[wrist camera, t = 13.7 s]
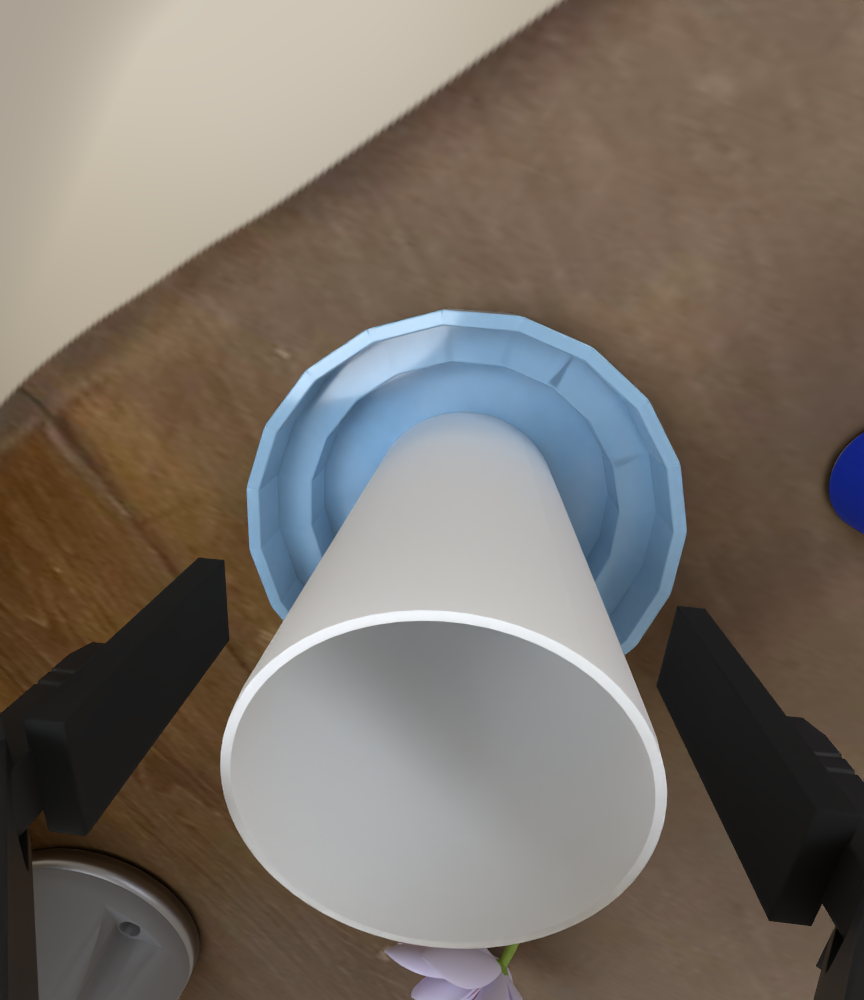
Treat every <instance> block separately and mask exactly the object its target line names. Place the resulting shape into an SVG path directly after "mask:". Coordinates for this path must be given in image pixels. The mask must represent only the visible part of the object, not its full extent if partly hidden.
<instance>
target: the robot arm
mask: <svg viewBox="0 0 864 1000" xmlns="http://www.w3.org/2000/svg"><path fill="white" fill-rule="evenodd" d="M228 641H229V628H228V613H227V597H226V581H225V566H224V560H217V559H207V558H198V559H197V560H196V561H195V562H193V563H192V564H191V565H190V566H189V567H188V568H187V569H186V570H185V571H184V572H183V573H181V574H180V575H179V576H178V577H177V578H176V579H175V580H174V581H173V582H172V583H171V584H170V585H168V586H167V587H166V588H165V589H164V590H163V591H162V592H161V593H160V594H159V595H158V596H156V597H155V598H154V599H153V600H152V601H151V602H150V603H149V604H148V605H147V606H146V607H145V608H143V609H142V610H141V611H140V612H139V613H138V614H137V615H136V616H135V617H134V618H133V619H131V620H130V621H129V622H128V623H127V624H126V625H125V626H124V627H123V628H122V629H121V630H119V631H118V632H117V633H116V634H115V635H114V636H113V637H112V638H111V639H110V640H109V641H108V642H106V643H96V642H92V643H90V644H88V645H86V646H84V647H82V648H80V649H79V650H77V651H75V652H73V653H71V654H69V655H68V656H67V657H66V658H65V659H63V660H62V661H61V662H60V663H59V664H58V665H56V666H55V667H54V668H53V669H52V672H48V673H47V674H46V675H45V676H44V677H43V678H41V679H40V680H39V681H38V684H34V685H33V686H32V687H31V688H30V689H29V690H27V691H26V692H25V693H24V694H23V695H22V696H21V697H19V698H18V699H17V700H16V701H15V702H14V703H12V704H11V705H10V706H9V707H8V708H7V709H6V710H4V711H3V712H2V713H1V714H0V1000H178V999H179V997H180V995H181V994H182V992H183V990H184V988H185V987H186V985H187V983H188V981H189V978H190V976H191V974H192V971H193V969H194V967H195V964H196V962H197V960H198V956H199V951H200V940H199V935H198V931H197V928H196V925H195V923H194V921H193V919H192V917H191V916H190V914H189V912H188V911H187V909H186V908H185V907H184V905H183V904H182V903H181V902H180V901H179V899H178V898H177V897H176V896H175V895H174V894H173V893H172V892H171V891H170V890H168V889H167V888H166V887H165V886H164V885H162V884H161V883H160V882H158V881H157V880H156V879H154V878H153V877H151V876H150V875H148V874H146V873H145V872H143V871H141V870H139V869H138V868H136V867H134V866H132V865H130V864H127V863H125V862H123V861H120V860H118V859H115V858H112V857H109V856H106V855H102V854H99V853H95V852H90V851H85V850H78V849H66V848H54V849H43V850H37V851H33V852H32V849H31V837H30V833H29V829H28V827H29V826H30V824H31V823H32V822H33V821H34V820H35V819H36V817H37V816H38V815H39V814H40V813H41V812H42V810H43V809H44V813H45V818H46V822H47V826H48V831H51V832H59V833H67V834H76V835H84V836H87V834H88V833H89V831H90V830H91V829H92V827H93V826H94V825H95V823H96V822H97V820H98V819H99V818H100V816H101V815H102V814H103V812H104V811H105V810H106V808H107V807H108V805H109V804H110V803H111V801H112V800H113V799H114V797H115V796H116V794H117V793H118V792H119V790H120V789H121V788H122V786H123V785H124V783H125V782H126V781H127V779H128V778H129V777H130V775H131V774H132V773H133V771H134V770H135V768H136V767H137V766H138V764H139V763H140V762H141V760H142V759H143V757H144V756H145V755H146V753H147V752H148V751H149V749H150V748H151V746H152V745H153V744H154V742H155V741H156V740H157V738H158V737H159V735H160V734H161V733H162V731H163V730H164V729H165V727H166V726H167V725H168V723H169V722H170V720H171V719H172V718H173V716H174V715H175V714H176V712H177V711H178V709H179V708H180V707H181V705H182V704H183V703H184V701H185V700H186V698H187V697H188V696H189V694H190V693H191V692H192V690H193V689H194V688H195V686H196V685H197V683H198V682H199V681H200V679H201V678H202V677H203V675H204V674H205V672H206V671H207V670H208V668H209V667H210V666H211V664H212V663H213V661H214V660H215V659H216V657H217V656H218V655H219V653H220V652H221V651H222V649H223V648H224V646H225V645H226V644H227V642H228ZM656 686H657V688H658V690H659V692H660V694H661V696H662V698H663V701H664V703H665V705H666V707H667V709H668V711H669V713H670V715H671V717H672V719H673V721H674V723H675V726H676V728H677V730H678V732H679V734H680V736H681V738H682V740H683V742H684V744H685V746H686V748H687V751H688V753H689V755H690V757H691V759H692V761H693V763H694V765H695V767H696V769H697V771H698V773H699V776H700V778H701V780H702V782H703V784H704V786H705V788H706V790H707V792H708V794H709V796H710V799H711V801H712V803H713V805H714V807H715V809H716V811H717V813H718V815H719V817H720V819H721V821H722V824H723V826H724V828H725V830H726V832H727V834H728V836H729V838H730V840H731V842H732V844H733V846H734V849H735V851H736V853H737V855H738V857H739V859H740V861H741V863H742V865H743V867H744V869H745V871H746V874H747V876H748V878H749V880H750V882H751V884H752V886H753V888H754V890H755V892H756V894H757V897H758V899H759V901H760V903H761V905H762V907H763V909H764V911H765V913H766V915H767V917H768V919H769V921H775V922H783V923H791V924H799V925H807V926H812V924H813V921H814V919H815V917H816V915H817V913H818V911H819V909H820V907H821V904H823V905H824V907H825V909H826V910H827V912H828V914H829V916H830V917H831V919H832V921H833V923H834V924H835V928H834V930H833V932H832V934H831V936H830V938H829V940H828V942H827V944H826V946H825V948H824V950H823V952H822V955H821V957H820V959H819V961H818V963H817V965H816V966H817V967H818V968H820V969H821V973H820V977H819V981H818V985H817V989H816V992H815V996H814V1000H864V782H863V781H862V780H861V779H860V777H859V776H858V775H855V774H854V770H853V769H852V768H851V766H850V765H849V764H848V763H847V761H846V760H845V759H842V758H841V754H840V753H839V752H838V750H837V749H836V748H835V747H834V745H833V744H832V743H831V742H830V741H829V739H828V738H827V737H826V736H825V735H824V734H823V733H821V732H820V731H819V730H818V729H816V728H815V727H814V726H812V725H811V724H810V723H809V722H807V721H806V720H805V719H803V718H800V717H790V716H786V715H785V714H784V712H783V711H782V710H781V708H780V707H779V706H778V704H777V703H776V702H775V700H774V699H773V698H772V696H771V695H770V694H769V692H768V691H767V690H766V689H765V687H764V686H763V685H762V683H761V682H760V681H759V679H758V678H757V677H756V675H755V674H754V673H753V671H752V670H751V669H750V667H749V666H748V665H747V664H746V662H745V661H744V660H743V658H742V657H741V656H740V654H739V653H738V652H737V650H736V649H735V648H734V646H733V645H732V644H731V643H730V641H729V640H728V639H727V637H726V636H725V635H724V633H723V632H722V631H721V629H720V628H719V627H718V625H717V624H716V623H715V621H714V620H713V619H712V618H711V616H710V615H709V614H708V612H707V611H706V610H705V609H702V608H692V607H682V606H677V609H676V613H675V617H674V621H673V625H672V628H671V632H670V636H669V640H668V644H667V647H666V651H665V655H664V659H663V663H662V666H661V670H660V674H659V678H658V682H657V685H656Z"/></svg>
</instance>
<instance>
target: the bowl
mask: <svg viewBox="0 0 864 1000" xmlns="http://www.w3.org/2000/svg"><path fill="white" fill-rule="evenodd" d="M454 412H473V413H480V414H485V415H489V416H492V417H496V418H498V419H500V420H503V421H505V422H507V423H509V424H511V425H512V426H514V427H515V428H517V429H518V430H520V431H521V432H522V433H524V434H525V435H526V436H527V437H528V438H529V439H530V440H531V441H532V442H533V443H534V444H535V445H536V447H537V448H538V449H539V451H540V452H541V454H542V455H543V457H544V459H545V461H546V463H547V465H548V467H549V470H550V472H551V475H552V477H553V480H554V482H555V484H556V487H557V489H558V492H559V494H560V497H561V499H562V502H563V504H564V507H565V509H566V512H567V514H568V517H569V519H570V522H571V524H572V527H573V529H574V532H575V534H576V537H577V539H578V542H579V544H580V547H581V549H582V552H583V554H584V556H585V559H586V561H587V564H588V566H589V569H590V571H591V574H592V576H593V579H594V581H595V584H596V586H597V589H598V591H599V594H600V596H601V599H602V601H603V604H604V606H605V609H606V611H607V614H608V616H609V619H610V621H611V624H612V626H613V628H614V631H615V633H616V636H617V638H618V641H619V643H620V646H621V648H622V651H623V653H624V655H626V654H627V653H628V652H629V651H631V650H632V649H633V648H634V647H635V646H636V645H637V644H638V643H639V641H640V640H641V638H642V636H643V635H644V633H645V632H646V630H647V629H648V627H649V626H650V624H651V623H652V621H653V620H654V618H655V617H656V615H657V614H658V612H659V611H660V609H661V608H662V606H663V605H664V603H665V602H666V600H667V599H668V597H669V596H670V593H671V591H672V587H673V584H674V580H675V576H676V572H677V568H678V564H679V561H680V557H681V553H682V549H683V545H684V541H685V538H686V534H687V524H686V514H685V504H684V494H683V483H682V473H681V465H680V462H679V460H678V458H677V456H676V454H675V452H674V449H673V447H672V445H671V443H670V441H669V439H668V437H667V435H666V433H665V431H664V429H663V427H662V425H661V423H660V421H659V419H658V417H657V415H656V413H655V411H654V409H653V407H652V405H651V403H650V401H649V400H648V398H647V397H646V396H645V395H643V394H642V393H641V392H640V391H639V390H638V389H637V388H636V387H635V386H634V385H633V384H632V383H631V382H630V381H629V380H628V379H627V378H625V377H624V376H623V375H622V374H621V373H620V372H619V371H618V370H617V369H616V368H615V367H614V366H613V365H612V364H611V363H610V362H609V361H608V360H606V359H605V358H604V357H603V356H602V355H601V354H600V353H599V352H598V351H597V350H596V349H594V348H593V347H591V346H589V345H587V344H585V343H582V342H580V341H578V340H575V339H573V338H571V337H569V336H566V335H564V334H562V333H560V332H557V331H555V330H553V329H550V328H548V327H546V326H544V325H541V324H539V323H537V322H535V321H532V320H530V319H528V318H525V317H523V316H521V315H518V314H514V313H510V312H497V311H485V310H472V309H460V308H446V309H442V310H438V311H434V312H430V313H426V314H422V315H419V316H415V317H411V318H407V319H403V320H399V321H395V322H391V323H388V324H384V325H380V326H376V327H372V328H368V329H367V330H364V331H363V332H361V333H360V334H358V335H357V336H355V337H354V338H352V339H351V340H349V341H348V342H346V343H345V344H344V345H342V346H341V347H339V348H338V349H336V350H335V351H333V352H332V353H330V354H329V355H327V356H326V357H324V358H323V359H321V360H320V361H318V362H317V363H315V364H314V365H312V366H311V367H309V368H308V369H307V370H306V371H305V372H304V373H303V374H302V376H301V377H300V378H299V380H298V381H297V382H296V384H295V385H294V386H293V388H292V389H291V391H290V392H289V393H288V395H287V396H286V397H285V399H284V400H283V401H282V403H281V404H280V405H279V407H278V408H277V409H276V411H275V412H274V414H273V415H272V416H271V418H270V419H269V420H268V422H267V423H266V425H265V427H264V430H263V433H262V437H261V440H260V443H259V447H258V450H257V453H256V457H255V460H254V464H253V467H252V470H251V474H250V477H249V480H248V484H247V509H248V529H249V548H250V552H251V555H252V558H253V560H254V563H255V565H256V568H257V570H258V573H259V576H260V578H261V581H262V583H263V586H264V588H265V591H266V594H267V596H268V599H269V601H270V604H271V605H272V607H273V609H274V610H275V611H276V613H277V614H278V615H279V616H280V618H281V619H282V620H283V621H284V619H285V617H286V616H287V614H288V613H289V611H290V609H291V608H292V606H293V604H294V603H295V601H296V600H297V598H298V596H299V595H300V593H301V591H302V590H303V588H304V587H305V585H306V583H307V582H308V580H309V578H310V577H311V575H312V574H313V572H314V570H315V569H316V567H317V565H318V564H319V562H320V561H321V559H322V557H323V556H324V554H325V552H326V551H327V549H328V548H329V546H330V544H331V543H332V541H333V539H334V538H335V536H336V535H337V533H338V531H339V530H340V528H341V526H342V525H343V523H344V522H345V520H346V518H347V517H348V515H349V513H350V512H351V510H352V509H353V507H354V505H355V504H356V502H357V500H358V499H359V497H360V496H361V494H362V492H363V491H364V489H365V487H366V486H367V484H368V483H369V481H370V479H371V478H372V476H373V474H374V473H375V471H376V470H377V468H378V466H379V465H380V463H381V461H382V460H383V458H384V457H385V455H386V453H387V452H388V450H389V449H390V447H391V446H392V445H393V444H394V442H395V441H396V440H397V439H398V438H399V437H400V436H401V435H403V434H404V433H405V432H406V431H407V430H409V429H410V428H412V427H413V426H415V425H417V424H418V423H420V422H422V421H424V420H427V419H429V418H431V417H435V416H438V415H442V414H447V413H454Z"/></svg>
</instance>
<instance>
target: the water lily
mask: <svg viewBox="0 0 864 1000" xmlns="http://www.w3.org/2000/svg"><path fill="white" fill-rule="evenodd" d="M518 945H519V943H517V944H512V945H507V946H506V947H505V949H504V951H503V953H502V955H501V957H500V959H499V958H498V957H496V956H493V955H492V954H491V953H490V952H489V951H488V950H487V948H473V949H456V948H438V947H428V946H421V945H414V944H409V943H404V942H398V945H394V946H391V947H388V948H386V949H385V951H384V952H385V953H386V954H387V955H388V956H390V957H391V958H392V959H393V960H394V961H396V962H397V963H399V964H400V965H401V966H403V967H405V968H407V969H409V970H411V971H413V972H415V973H418V974H421V975H424V976H426V977H425V978H424V979H422V980H421V981H420V982H419V983H418V984H417V985H416V986H415V987H414V988H413V989H412V992H411V997H412V998H414V999H415V1000H523V998H522V997H521V995H520V993H519V992H518V990H517V989H516V987H515V986H514V984H513V982H512V976H511V973H510V971H509V969H508V967H507V966H508V964H509V962H510V961H511V959H512V957H513V955H514V953H515V951H516V949H517V947H518Z"/></svg>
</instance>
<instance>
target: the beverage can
mask: <svg viewBox="0 0 864 1000" xmlns="http://www.w3.org/2000/svg"><path fill="white" fill-rule="evenodd" d="M829 495H830V501H831V503H832V506H833V508H834V510H835V512H836V513H837V515H838V516H839V517H840V518H841V519H842V520H843V521H844V522H845V523H847V524H848V525H850V526H851V527H853V528H854V529H856V530H858V531H859V532H861V533H863V534H864V432H863V433H862V434H860V435H859V436H858V437H856V438H855V439H854V440H853V441H851V442H850V443H849V444H848V445H847V446H846V447H845V449H844V450H843V451H842V452H841V454H840V455H839V457H838V458H837V460H836V462H835V464H834V467H833V469H832V472H831V477H830V482H829Z"/></svg>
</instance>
